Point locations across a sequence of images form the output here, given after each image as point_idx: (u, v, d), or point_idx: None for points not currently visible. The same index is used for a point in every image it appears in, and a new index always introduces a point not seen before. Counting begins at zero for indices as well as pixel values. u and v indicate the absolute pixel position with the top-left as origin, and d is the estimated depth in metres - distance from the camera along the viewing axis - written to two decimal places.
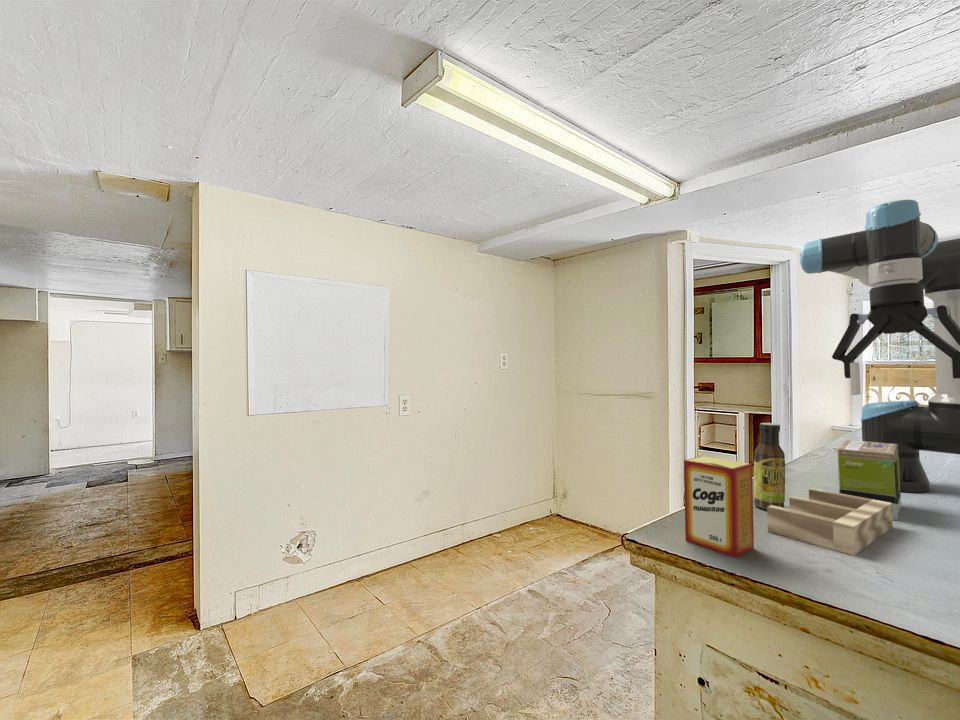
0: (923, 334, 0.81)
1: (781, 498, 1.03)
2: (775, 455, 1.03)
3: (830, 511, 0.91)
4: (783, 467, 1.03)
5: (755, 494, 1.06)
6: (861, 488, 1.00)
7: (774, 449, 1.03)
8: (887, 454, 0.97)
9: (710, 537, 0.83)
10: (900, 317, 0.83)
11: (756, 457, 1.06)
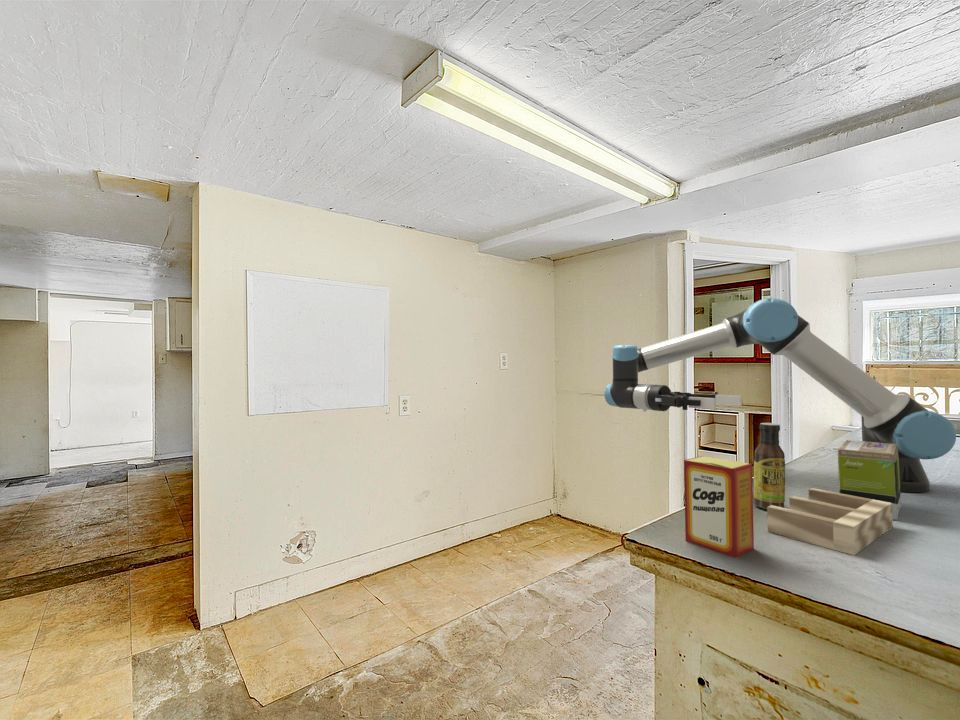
0: None
1: (781, 498, 1.03)
2: (775, 455, 1.03)
3: (830, 511, 0.91)
4: (783, 467, 1.03)
5: (755, 494, 1.06)
6: (861, 488, 1.00)
7: (774, 449, 1.03)
8: (887, 454, 0.97)
9: (710, 537, 0.83)
10: None
11: (756, 457, 1.06)
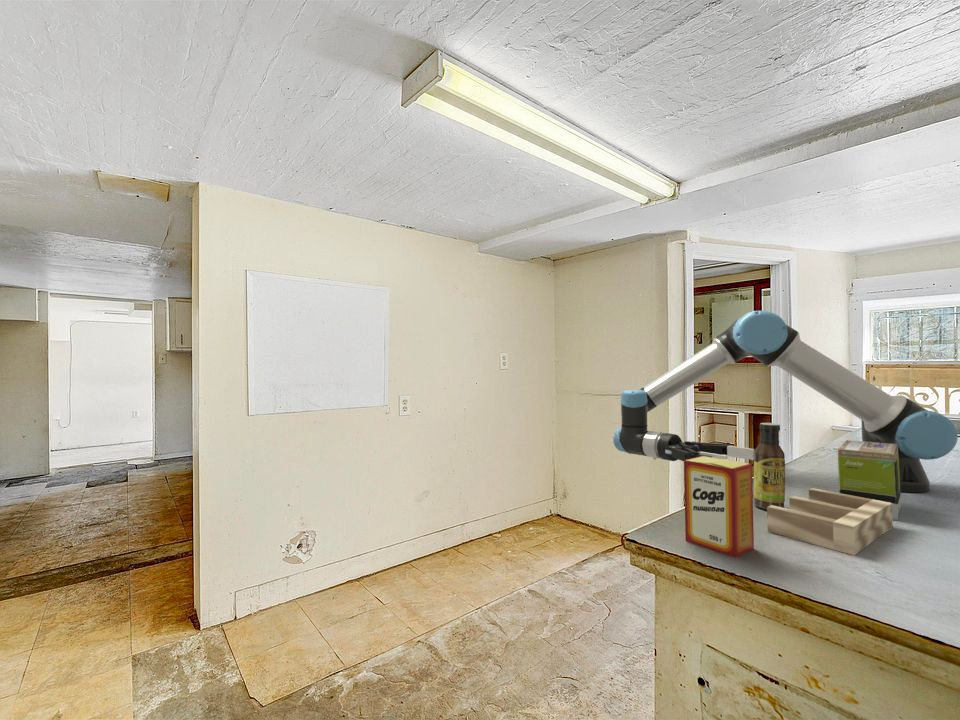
0: None
1: (781, 498, 1.03)
2: (775, 455, 1.03)
3: (830, 511, 0.91)
4: (783, 467, 1.03)
5: (755, 494, 1.06)
6: (861, 488, 1.00)
7: (774, 449, 1.03)
8: (887, 454, 0.97)
9: (710, 537, 0.83)
10: None
11: (756, 457, 1.06)
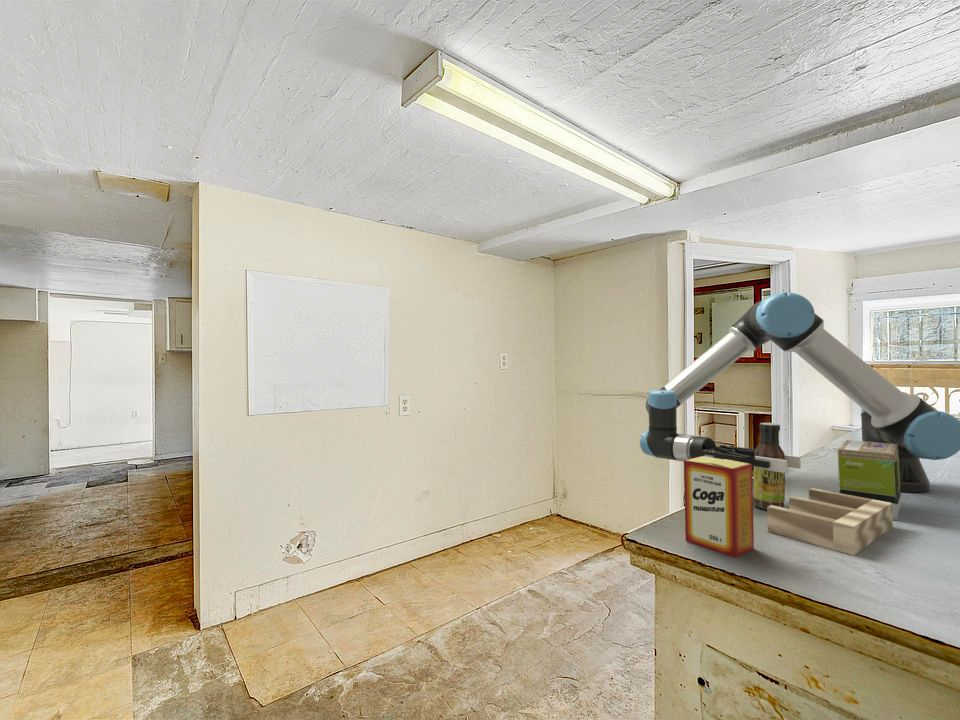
0: None
1: (781, 498, 1.03)
2: (775, 455, 1.03)
3: (830, 511, 0.91)
4: None
5: (755, 494, 1.06)
6: (861, 488, 1.00)
7: (774, 449, 1.03)
8: (887, 454, 0.97)
9: (710, 537, 0.83)
10: None
11: None
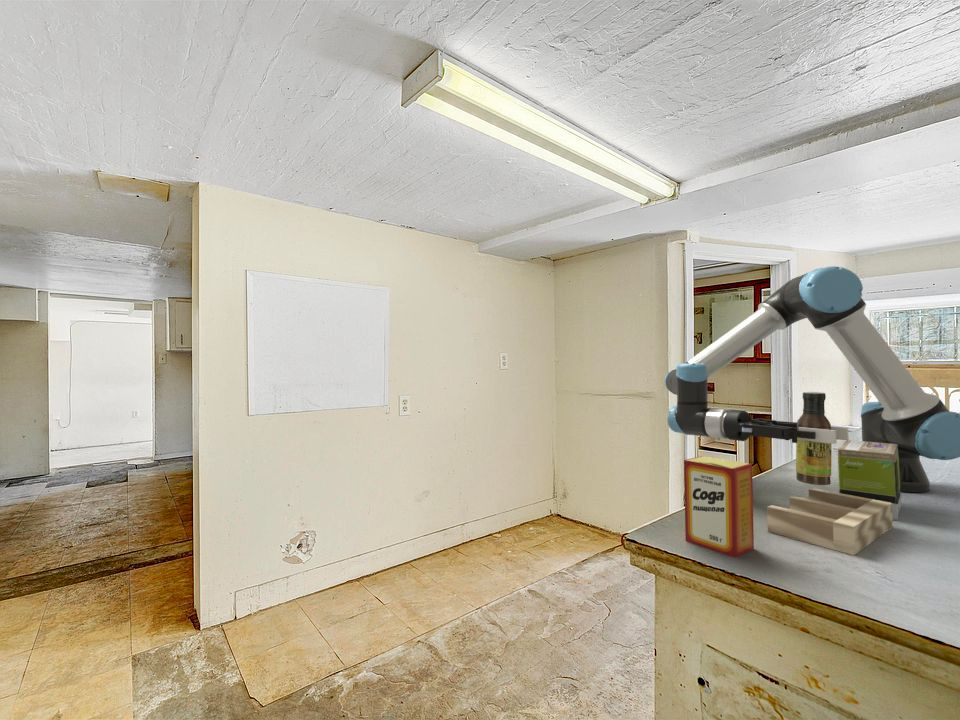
0: None
1: (827, 471, 0.95)
2: (821, 425, 0.95)
3: (830, 511, 0.91)
4: None
5: (798, 468, 0.98)
6: (861, 488, 1.00)
7: (820, 419, 0.95)
8: (887, 454, 0.97)
9: (710, 537, 0.83)
10: None
11: None
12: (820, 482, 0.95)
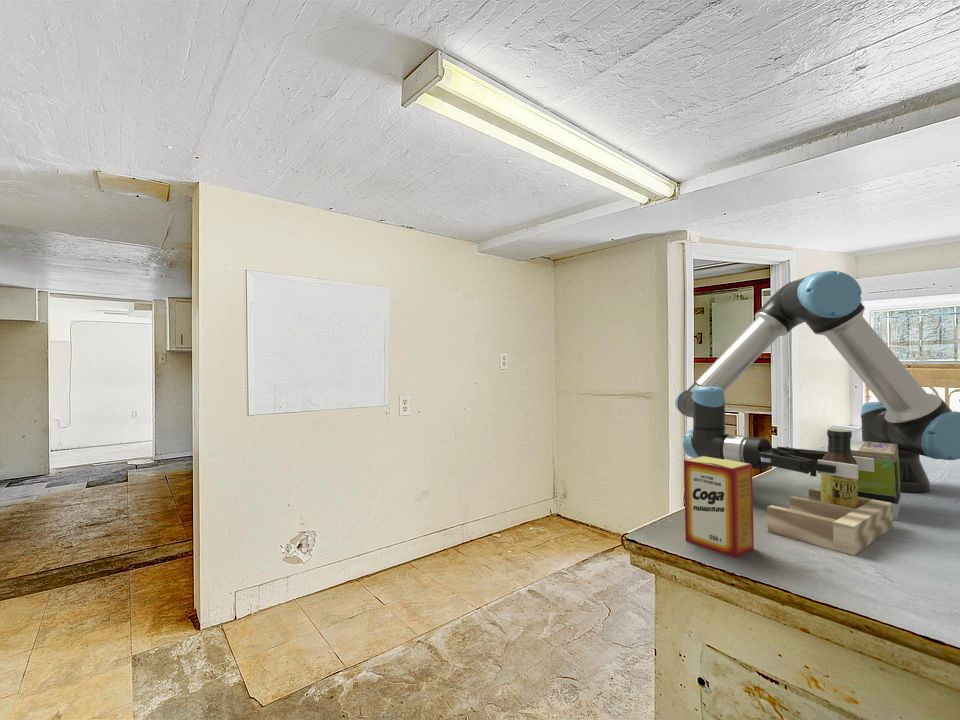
0: None
1: None
2: None
3: (830, 511, 0.91)
4: (856, 479, 0.92)
5: None
6: (861, 488, 1.00)
7: (846, 459, 0.92)
8: (887, 454, 0.97)
9: (710, 537, 0.83)
10: None
11: None
12: None
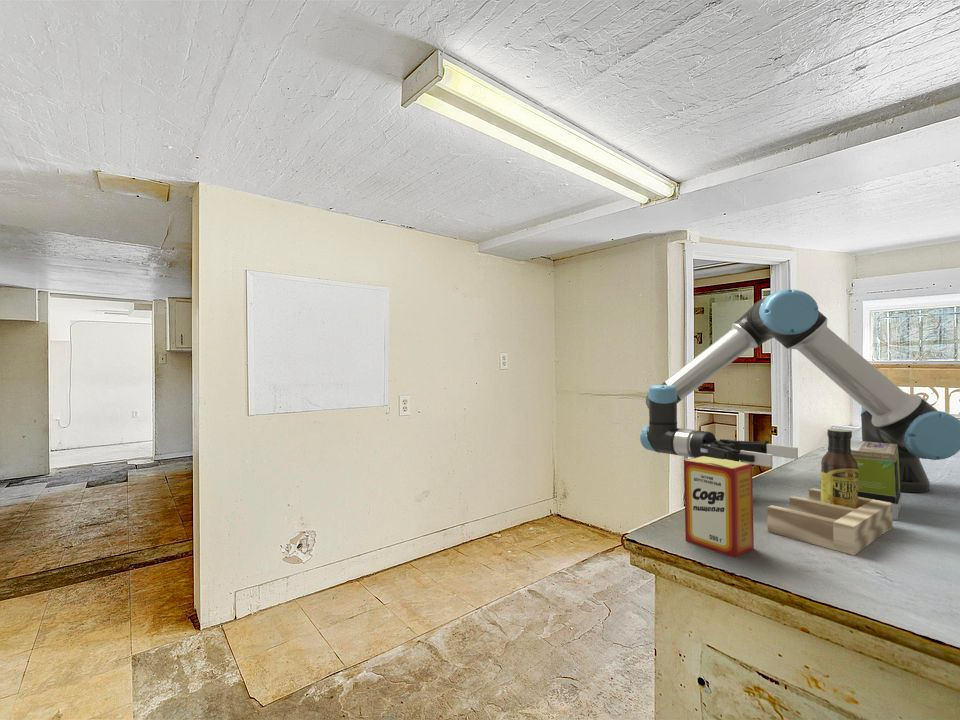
0: None
1: None
2: (848, 465, 0.92)
3: (830, 511, 0.91)
4: (857, 478, 0.92)
5: None
6: (861, 488, 1.00)
7: (846, 459, 0.92)
8: (887, 454, 0.97)
9: (710, 537, 0.83)
10: None
11: (824, 467, 0.95)
12: None
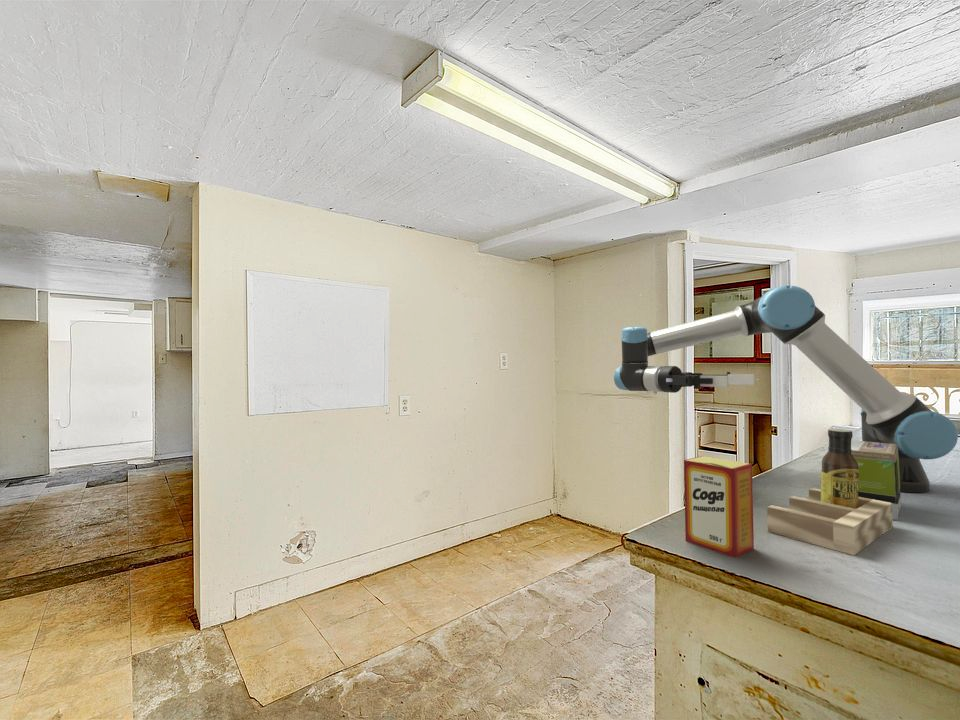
0: None
1: None
2: (848, 465, 0.92)
3: (830, 511, 0.91)
4: (857, 479, 0.92)
5: None
6: (861, 488, 1.00)
7: (847, 459, 0.92)
8: (887, 454, 0.97)
9: (710, 537, 0.83)
10: None
11: (825, 467, 0.95)
12: None
